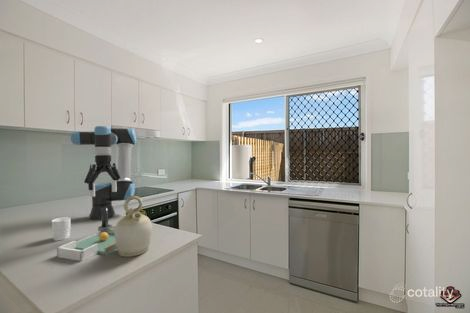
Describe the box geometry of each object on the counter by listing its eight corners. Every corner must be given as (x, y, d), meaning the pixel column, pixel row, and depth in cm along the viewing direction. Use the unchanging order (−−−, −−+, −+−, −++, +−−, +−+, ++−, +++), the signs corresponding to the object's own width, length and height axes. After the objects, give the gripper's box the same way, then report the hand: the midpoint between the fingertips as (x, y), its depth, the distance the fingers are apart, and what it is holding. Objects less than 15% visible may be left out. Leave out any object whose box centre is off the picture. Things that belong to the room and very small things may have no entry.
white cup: (69, 234, 118) (68, 216, 118) (73, 237, 113) (72, 218, 113) (50, 238, 112) (49, 219, 112) (54, 242, 107) (53, 222, 107)
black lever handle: (106, 228, 120) (105, 206, 120) (125, 231, 116) (125, 208, 116) (98, 231, 115) (97, 208, 115) (118, 234, 111) (117, 210, 111)
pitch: (107, 231, 122) (107, 226, 122) (142, 235, 115) (142, 230, 115) (66, 248, 100) (65, 242, 100) (106, 254, 93) (106, 248, 93)
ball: (104, 238, 108) (103, 230, 108) (110, 239, 107) (110, 231, 107) (96, 241, 105) (96, 233, 104) (103, 242, 103) (103, 234, 103)
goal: (74, 249, 99) (74, 240, 99) (98, 252, 95) (97, 244, 95) (57, 256, 92) (56, 247, 92) (81, 261, 88) (81, 251, 88)
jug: (151, 255, 92) (149, 197, 92) (110, 261, 88) (109, 200, 87) (153, 241, 107) (152, 191, 106) (119, 245, 102) (118, 193, 102)
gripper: (116, 154, 129) (117, 189, 130) (75, 155, 105) (76, 198, 106) (126, 154, 127) (127, 190, 127) (86, 155, 103) (87, 198, 103)
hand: (104, 193), depth 117 cm, fingers open, 13 cm apart
